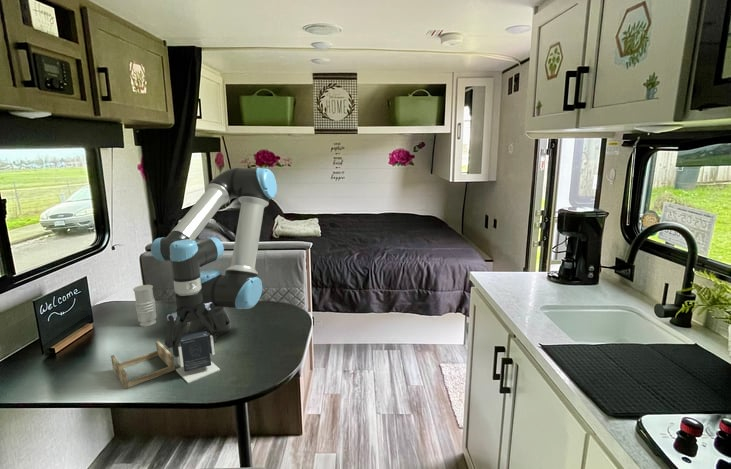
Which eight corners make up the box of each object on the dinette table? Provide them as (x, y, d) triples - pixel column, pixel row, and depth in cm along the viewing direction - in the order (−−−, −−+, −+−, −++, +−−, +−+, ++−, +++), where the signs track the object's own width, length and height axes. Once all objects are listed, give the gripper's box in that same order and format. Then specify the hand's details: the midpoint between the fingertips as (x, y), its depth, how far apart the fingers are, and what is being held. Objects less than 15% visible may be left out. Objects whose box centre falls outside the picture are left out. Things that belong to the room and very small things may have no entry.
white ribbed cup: (161, 321, 161) (156, 286, 158) (144, 328, 156) (139, 292, 152) (151, 317, 165) (147, 283, 162) (134, 324, 159) (129, 288, 156)
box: (209, 357, 130) (206, 327, 127) (211, 366, 125) (208, 335, 122) (183, 363, 126) (179, 332, 124) (184, 372, 122) (180, 340, 119)
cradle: (113, 370, 127) (110, 355, 126) (160, 353, 136) (158, 340, 135) (125, 388, 117) (123, 373, 116) (175, 369, 126) (173, 355, 125)
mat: (175, 370, 126) (175, 369, 126) (206, 358, 133) (206, 357, 133) (187, 383, 119) (187, 382, 119) (220, 370, 126) (220, 369, 126)
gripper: (154, 305, 110) (164, 378, 115) (228, 285, 125) (234, 350, 130) (145, 298, 115) (155, 367, 120) (217, 279, 130) (224, 342, 135)
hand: (196, 358), depth 125 cm, fingers closed on box, 9 cm apart
